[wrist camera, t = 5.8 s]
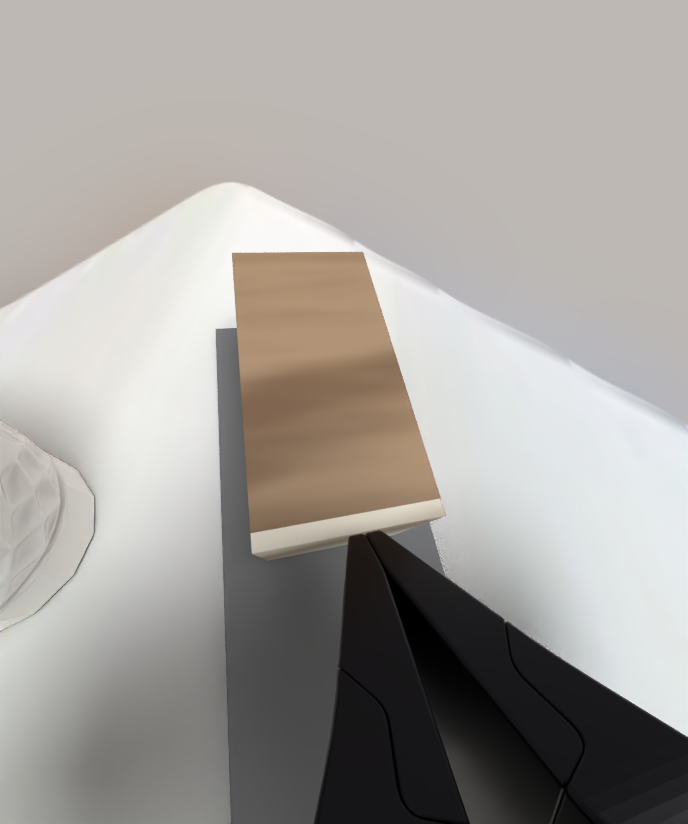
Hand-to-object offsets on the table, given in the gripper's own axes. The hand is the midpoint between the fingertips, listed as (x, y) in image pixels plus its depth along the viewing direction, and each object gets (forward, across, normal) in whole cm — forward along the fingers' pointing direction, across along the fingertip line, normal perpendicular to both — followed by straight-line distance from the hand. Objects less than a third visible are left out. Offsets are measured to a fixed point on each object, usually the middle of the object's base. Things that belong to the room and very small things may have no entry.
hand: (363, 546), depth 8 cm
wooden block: (+3, 0, +2) cm, 3 cm away
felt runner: (+6, 0, +3) cm, 7 cm away
